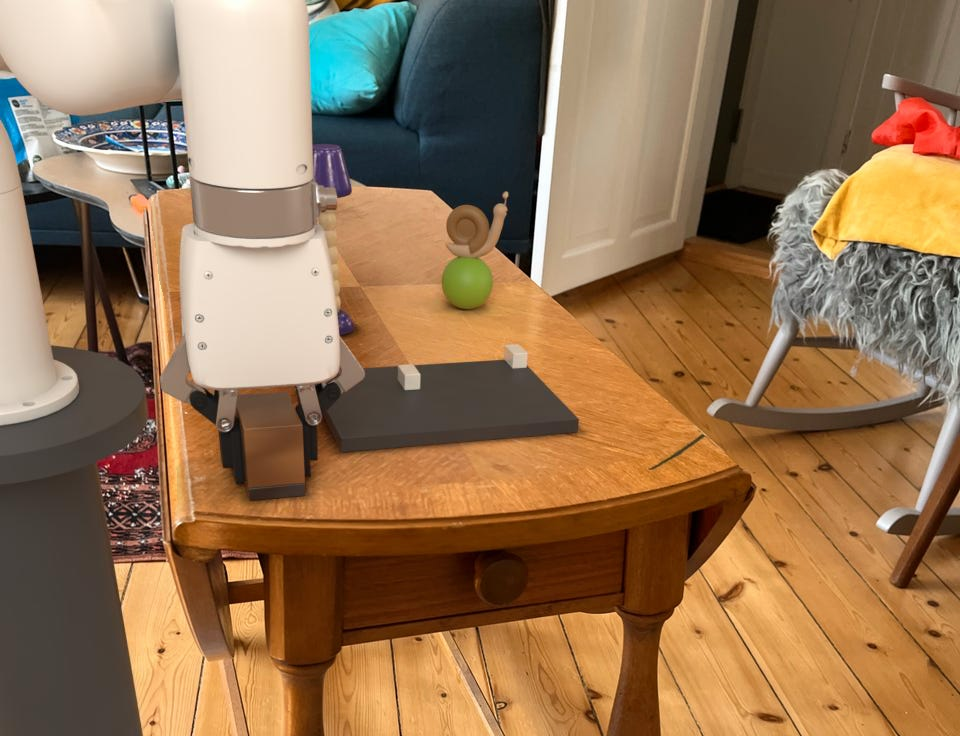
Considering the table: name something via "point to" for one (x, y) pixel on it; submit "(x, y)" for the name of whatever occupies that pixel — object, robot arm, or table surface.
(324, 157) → the toy lamp
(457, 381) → the board
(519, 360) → the chalk piece
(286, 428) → the eraser
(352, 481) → the table surface
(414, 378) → the chalk piece
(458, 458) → the table surface
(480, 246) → the snail figurine
